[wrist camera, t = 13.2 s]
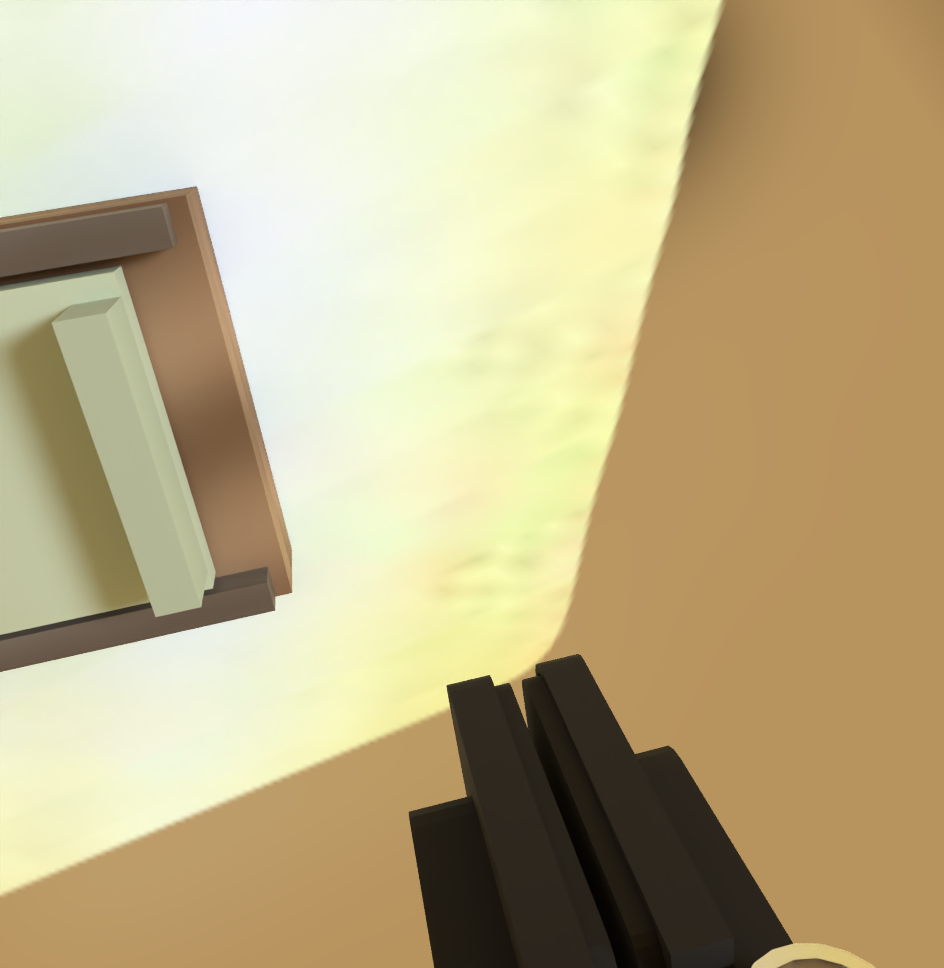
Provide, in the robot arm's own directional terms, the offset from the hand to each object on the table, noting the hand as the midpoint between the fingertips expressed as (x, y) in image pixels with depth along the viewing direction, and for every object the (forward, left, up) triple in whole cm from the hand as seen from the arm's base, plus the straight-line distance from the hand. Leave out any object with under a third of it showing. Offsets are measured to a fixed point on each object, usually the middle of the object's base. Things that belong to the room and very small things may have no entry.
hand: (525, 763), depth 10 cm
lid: (0, -10, -16) cm, 18 cm away
